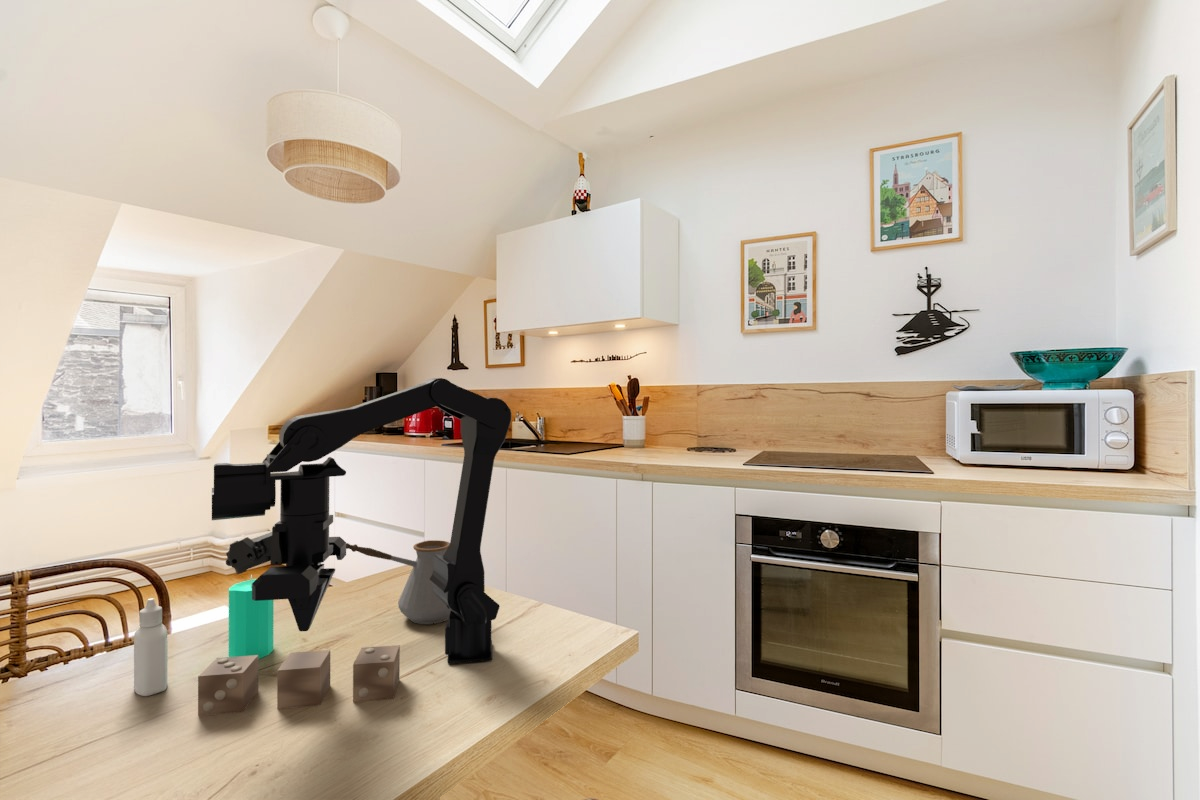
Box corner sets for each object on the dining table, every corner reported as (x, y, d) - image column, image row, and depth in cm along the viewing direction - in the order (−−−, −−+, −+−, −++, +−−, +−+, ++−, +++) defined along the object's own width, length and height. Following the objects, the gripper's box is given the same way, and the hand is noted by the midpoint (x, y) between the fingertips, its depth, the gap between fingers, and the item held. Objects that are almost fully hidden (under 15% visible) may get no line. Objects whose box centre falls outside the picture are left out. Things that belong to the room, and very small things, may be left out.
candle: (252, 664, 84) (252, 582, 84) (217, 659, 86) (218, 579, 86) (282, 646, 90) (283, 570, 90) (250, 642, 92) (250, 567, 91)
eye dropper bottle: (177, 675, 81) (177, 590, 81) (162, 695, 75) (162, 604, 75) (140, 680, 79) (140, 593, 79) (121, 701, 74) (121, 608, 74)
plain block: (330, 686, 78) (330, 649, 78) (319, 705, 74) (319, 667, 73) (290, 689, 78) (290, 652, 77) (277, 709, 73) (277, 670, 73)
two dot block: (399, 680, 80) (399, 644, 80) (393, 700, 75) (393, 660, 75) (361, 683, 79) (361, 646, 79) (352, 703, 74) (352, 663, 74)
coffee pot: (454, 600, 111) (455, 523, 111) (472, 621, 101) (473, 536, 101) (333, 620, 101) (334, 535, 100) (339, 646, 91) (340, 551, 90)
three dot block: (258, 692, 77) (258, 653, 77) (242, 713, 72) (242, 672, 72) (216, 695, 76) (216, 656, 76) (197, 717, 71) (197, 675, 71)
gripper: (265, 500, 83) (264, 607, 83) (201, 530, 65) (201, 668, 65) (347, 498, 85) (346, 603, 85) (308, 527, 67) (307, 660, 67)
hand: (304, 630), depth 75 cm, fingers closed
